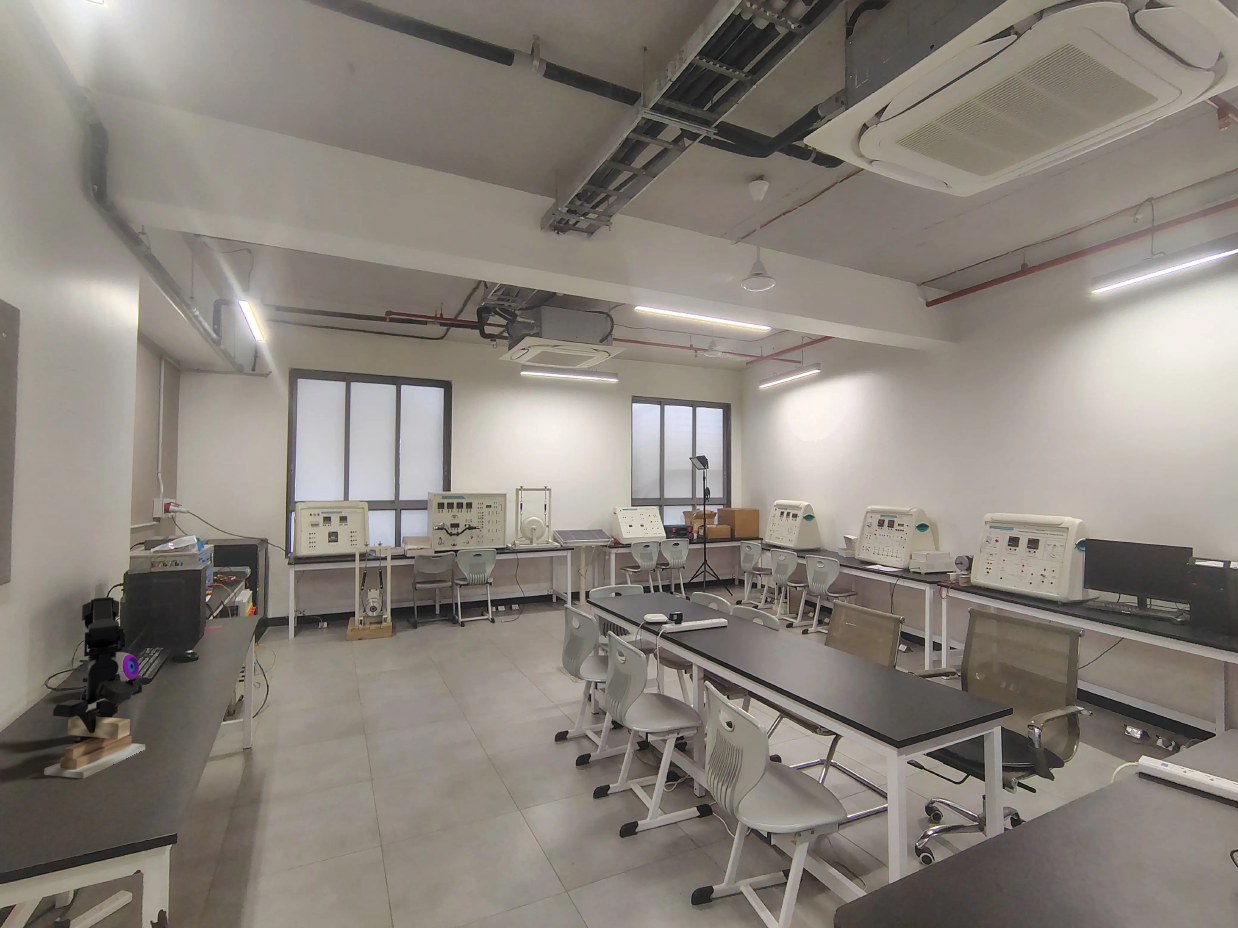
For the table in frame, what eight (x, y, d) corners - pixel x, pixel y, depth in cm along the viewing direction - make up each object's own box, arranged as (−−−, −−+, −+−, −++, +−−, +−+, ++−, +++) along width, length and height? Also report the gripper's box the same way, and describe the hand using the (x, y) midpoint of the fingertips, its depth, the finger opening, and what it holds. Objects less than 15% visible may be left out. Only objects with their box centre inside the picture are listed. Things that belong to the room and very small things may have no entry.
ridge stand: (44, 774, 144) (45, 748, 145) (109, 746, 160) (110, 723, 160) (83, 778, 143) (84, 752, 143) (145, 749, 158) (146, 726, 159)
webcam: (124, 700, 195) (127, 656, 196) (79, 703, 192) (82, 659, 192) (144, 687, 208) (146, 646, 208) (102, 690, 204) (104, 649, 205)
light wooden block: (67, 734, 151) (68, 719, 152) (79, 729, 154) (80, 715, 155) (118, 738, 149) (118, 723, 149) (129, 734, 152) (130, 719, 152)
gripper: (89, 685, 142) (86, 748, 141) (159, 663, 161) (157, 718, 160) (53, 682, 144) (49, 744, 143) (126, 661, 162) (124, 715, 161)
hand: (98, 730), depth 152 cm, fingers closed on light wooden block, 3 cm apart
